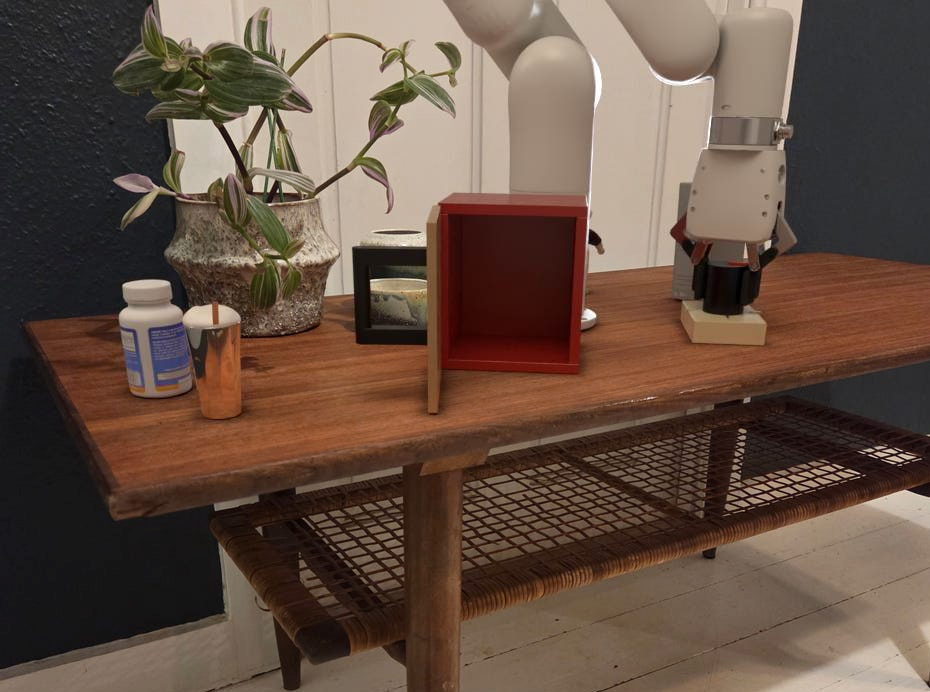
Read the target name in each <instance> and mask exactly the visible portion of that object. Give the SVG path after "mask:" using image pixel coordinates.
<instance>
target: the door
mask: <svg viewBox="0 0 930 692" xmlns="http://www.w3.org/2000/svg"><path fill="white" fill-rule="evenodd" d="M428 214H429V215H428V217H427V220H426V222H425V223H426V224H425V225H426V226H425V227H426V229H425V231H426V233H425V235H426V238H425V239H426V240H425V241H426V246H424V245H423V246H422V245H421V246H418V245H417V246H416V245H415V246H413V245H411V246H410V245H408V246H407V245H395V246H394V245H354V246H351V257H352V258H351V259H352V283H353V285H352V287H353V305H354V306H353V307H354V332H355V333H354V335H355V343H356V345H361V346H377V345H378V346H427V412H428V414H437V413H438V412H439V401H440V390H441V379H442V370H443V369H442V353H441V205H438V204H433V205H432V206H431V208H430V212H429V213H428ZM371 266H372V267H426V321H427V323H426V324H427V325H405V324H404V325H399V324H398V325H396V324H395V325H394V324H393V325H391V324H388V325H387V324H384V325H383V324H373V320H372V293H371V289H372V288H371V287H372V286H371Z"/></svg>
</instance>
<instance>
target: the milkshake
mask: <svg viewBox="0 0 930 692" xmlns="http://www.w3.org/2000/svg"><path fill="white" fill-rule="evenodd" d="M182 322H183V326H184V330H185V335H186V341H187V349H188V353H189V357H190V360H191V365H192V370H193V375H194V381H195V386H196V391H197V396H198V401H199V406H200V412H201V415H202V416H203V418H207V419H211V420H225V419H229V418H234V417H237V416H238V415H240V414H241V413H242V369H241V368H242V367H241V366H242V365H241V344H242V343H241V334H242V331H241V329H242V319H241V316H240V314H239V313H238V311H236V310H235V309H233V308H232V307H230V306H226V305H223V304H219V302H218V301H213V302H211V304H206V305H195V306H192V307H191V308H190V309H188V310H187V311H186V312H185V313H184V314H183V319H182Z"/></svg>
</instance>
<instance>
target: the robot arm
mask: <svg viewBox="0 0 930 692" xmlns="http://www.w3.org/2000/svg"><path fill="white" fill-rule="evenodd" d="M604 1H605V2H606V4H607V5H608V6H609V8H610V10H611V12H613V15H615V17H616V18H617V20H618V22H619V23H620V24H621V25H622V27H623V29H624V30H625V32H627V34H628V36H629V37H630V39H631V40H632V42H633V43H634V45H635V46H636V47H637V49H638V50H639V52H640V53H641V55H642V56H643V58H644V59H645V61H646V63H647V65H648V67H649V70H650V71H651V73H652V74H653V75H654V77H656V78H657V79H658V80H659V81H661V82H662V83H665V84H666V85H667V84H668V85H669V86H670V85H671V86H686V85H692V84H699V83H700V84H701V83H707V82H713V89H712V98H711V108H710V118H709V124H708V125H709V126H708V134H707V135H708V136H707V145H706V147H701V149H700V152H699V154H698V155H699V156H698V158H697V162H696V165H695V170H694V174H693V178H692V181H691V182H692V187H691V192H690V197H689V204H688V210H687V211H686V213H685V214H684V215H683V216H682V217H681V218H680V219H679V221H678V222H677V221H676V223H675V224H674V225H673V226H672V227H671V229H670V230H669V235H670V237H671V238H673V240H675V241H677V242H678V243H679V244H680V245H681V246H682V248H683V250H684V251H685V252H686V254H687V255H688V256H689V258H690V261H691V263H692V264H693V265H694V270H693V280H692V291H694V300H700V299H703V293H704V284H705V275H706V266H707V262H709V256H710V253H711V251H712V248H713V246H714V243H715V241H724V242H735V243H745V247H746V248H745V249H746V255H747V263H749V265H748V269H747V270H746V271H744V273H743V280H742V288H741V296H740V304H741V306H747V305H751V304H753V303H754V302H755V299H758V297H759V295H760V290H761V283H762V275H763V269H765V268H766V267H767V266H768V265H769V264H770V263H772V262H773V261H774V260H775V259H776V258H777V257H779V256H780V255H782V254H783V253H785V252H786V251H788V250H790V249H791V248H792V247H794V246H795V245H797V243H798V239H797V237H796V235H795V234H794V232H793V230H792V229H791V227H790V225H789V223H788V222H787V220H786V219H785V207H786V206H785V205H786V186H787V160H786V159H787V158H786V149H778V147H779V145H780V144H781V141H782V140H785V139H791V138H792V137H793V135H794V125H793V124H787V123H784V118H782V116H783V108H784V102H785V95H786V86H787V80H788V71H789V63H790V57H791V49H792V43H793V42H792V41H793V34H794V19H793V16H792V14H791V13H790V12H789V11H788V10H786V9H783V8H777V7H768V6H767V7H766V6H764V7H757V6H755V7H744V8H743V7H741V8H737V9H733V10H730V11H729V12H727V13H725V14H715V13H713V11H712V10H711V8H710V6H709V5H708V3H707V2H706V0H604ZM442 2H443V3H444V4H445V6H446V7H447V9H448V11H450V13H451V15H452V16H453V18H454V19H455V21H456V23H457V24H458V26H459V27H460V29H461V30H462V32H463V33H464V35H465V36H466V37H467V38H468V39H469V40H470V41H471V42H472V43H473V44H475V45H477V46H479V47H481V48H482V49H484V51H485V52H486V53H487V54H488V56H489V57H490V58H491V59H492V61H493V63H494V64H495V65H496V67H497V68H498V69H499V70H500V71H501V73H502V74H503V76H504V77H505V79H506V80H507V81H508V91H507V92H508V93H507V108H508V109H507V110H508V132H509V133H508V135H509V174H508V175H509V176H508V177H509V179H508V181H509V182H508V189H509V192H508V194H546V195H586V199H587V204H588V214H587V231H586V249H585V266H584V283H583V301H582V318H581V331H583V330H588V329H590V328H592V327H594V326H595V325H596V323H597V313H595V312H594V311H593V310H591V309H589V308H585V302H586V301H585V299H586V298H585V295H586V294H585V287H586V286H585V284H586V267H587V249H588V248H589V244H588V232H589V229H590V219H589V215H590V208H591V197H592V175H593V153H594V133H595V132H594V131H595V129H594V128H595V112H596V107H597V105H598V104H599V101H600V98H601V95H602V86H603V84H602V75H601V74H602V73H601V71H600V67H599V65H598V63H597V61H596V59H595V58H594V56H593V55H592V53H591V52H590V51H589V49H588V48H587V46H585V44H584V43H583V42H582V41H583V40H581V38H580V37H579V35H578V34H577V33H576V31H575V30H574V28H573V27H572V25H570V23H569V22H568V20H567V18H566V17H565V16H564V15H563V14H562V12H561V10H560V9H559V8H558V6H557V4H555V2H554V1H553V0H442ZM690 236H692V237H694V238H697V239H698V240H697V242H696V241H695V240H694V239H692V238H691V237H690ZM775 239H778V241H777V242H776V243H775V244H773V245H771V246H770V247H768V248H767V249H766V244H765V243H767V242H768V241H772V240H775Z"/></svg>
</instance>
